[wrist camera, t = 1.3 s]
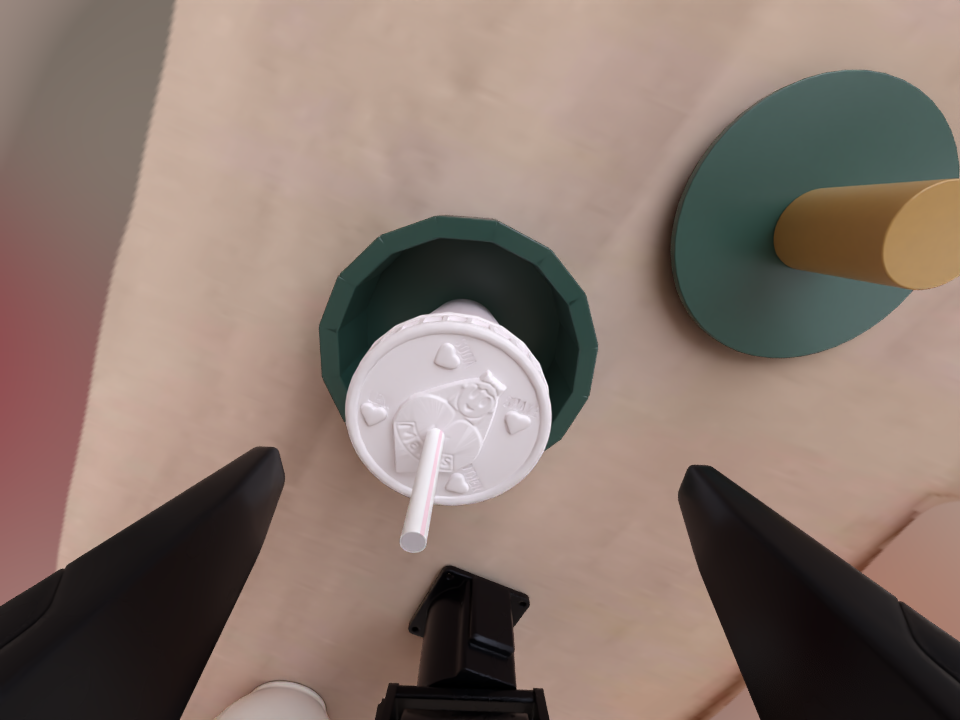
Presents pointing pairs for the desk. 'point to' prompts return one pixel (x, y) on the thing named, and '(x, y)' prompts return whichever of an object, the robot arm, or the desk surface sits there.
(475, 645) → the robot arm
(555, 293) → the tin
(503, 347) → the smoothie
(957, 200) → the lid
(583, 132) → the desk surface
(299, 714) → the trinket box
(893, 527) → the desk surface
